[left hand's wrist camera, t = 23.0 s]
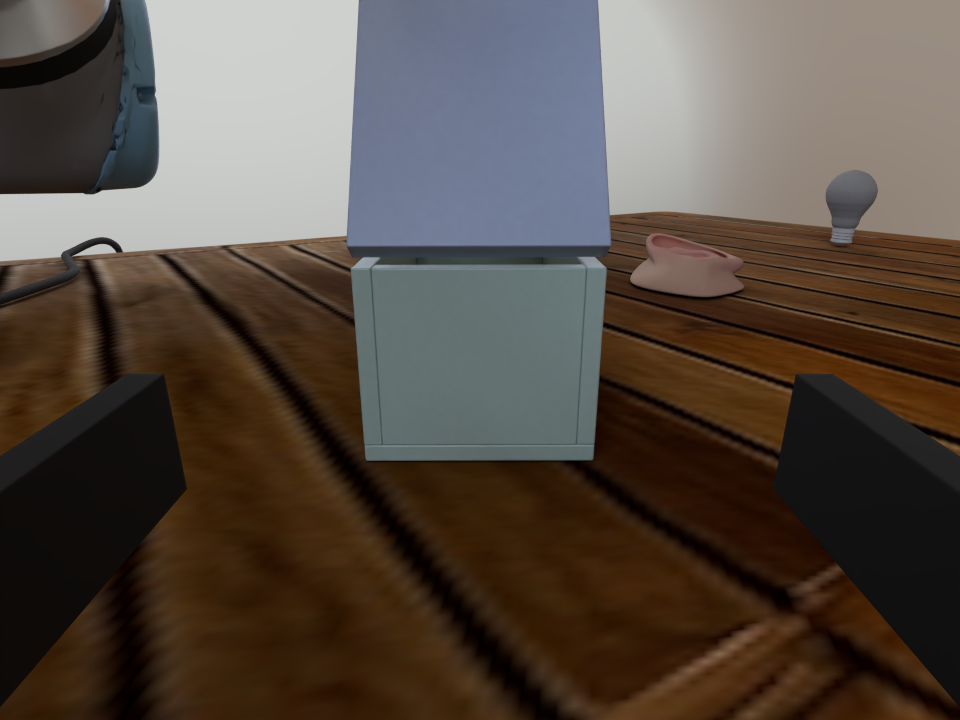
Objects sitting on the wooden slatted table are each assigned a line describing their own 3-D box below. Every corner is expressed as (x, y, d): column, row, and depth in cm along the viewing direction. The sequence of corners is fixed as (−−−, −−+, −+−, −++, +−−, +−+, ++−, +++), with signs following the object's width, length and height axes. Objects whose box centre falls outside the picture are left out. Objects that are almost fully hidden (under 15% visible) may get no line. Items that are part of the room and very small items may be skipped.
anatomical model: (743, 257, 51) (613, 247, 56) (737, 302, 52) (610, 288, 57) (756, 237, 62) (646, 231, 67) (751, 275, 63) (643, 266, 68)
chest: (409, 342, 42) (403, 219, 39) (550, 341, 42) (555, 219, 39) (365, 461, 26) (350, 268, 23) (593, 461, 26) (607, 267, 23)
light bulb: (824, 247, 80) (839, 171, 77) (810, 241, 86) (824, 169, 82) (872, 249, 79) (890, 171, 76) (855, 242, 85) (871, 169, 81)
